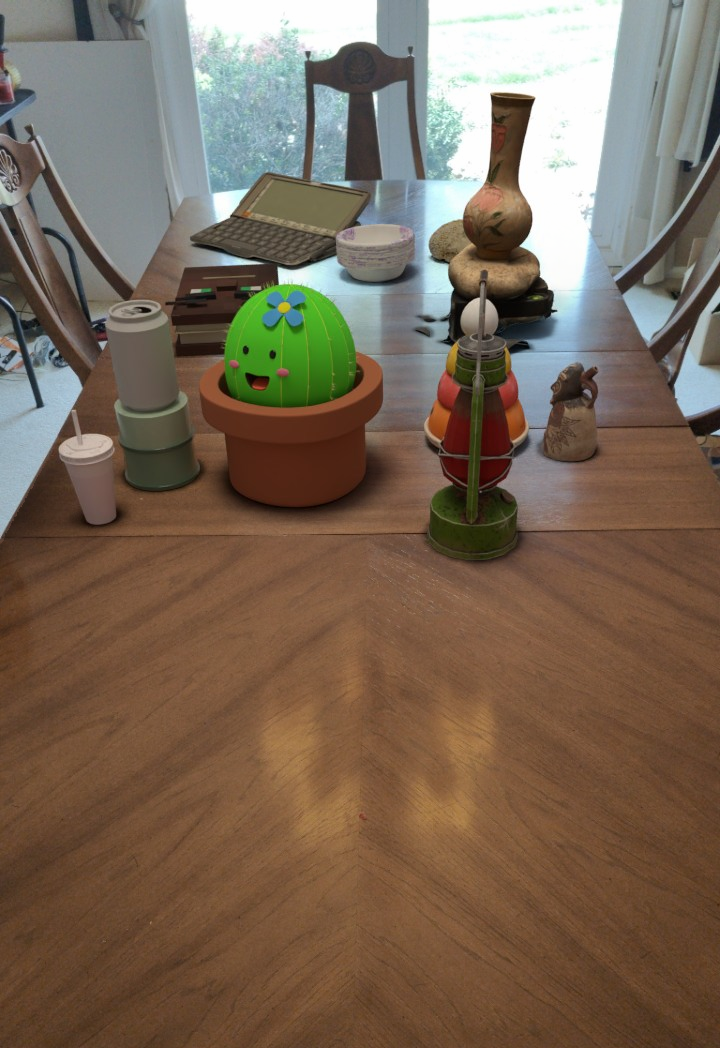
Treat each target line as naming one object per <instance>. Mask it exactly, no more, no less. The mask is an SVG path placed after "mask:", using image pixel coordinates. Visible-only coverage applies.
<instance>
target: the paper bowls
mask: <svg viewBox="0 0 720 1048" xmlns="http://www.w3.org/2000/svg"><path fill="white" fill-rule="evenodd" d="M415 243H416V234H415V231H414V230H413V229H412V228H410V227H408V226H404V225H399V224H389V223H372V224H364V225H361V226H357V227H352V228H349V229H346V230H344V231H341V232H340V233H339V234H337V236H336V250H337V251H336V252H337V253H336V261H337V263H338V264H339V266H342V267H344V268H346V270H347V272H348V274H349V275H350V276H351V277H352V278H354V279H355V280H358V281H362V282H370V283H378V282H387V281H391V280H395V279H397V278H399V277H400V276H401V275H402V274H403V273H404V270H405V268H406V265H409V264H410V263H412V262H413V261H414V260H415V258H416V257H415V255H416V245H415Z"/></svg>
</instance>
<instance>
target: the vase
mask: <svg viewBox="0 0 720 1048" xmlns="http://www.w3.org/2000/svg"><path fill="white" fill-rule="evenodd" d="M489 95H490V103H491V111H490V115H491V116H490V119H491V122H490V123H491V125H490V127H491V128H490V148H489V149H490V150H489V151H490V152H489V163H488V170H487V171H488V172H487V173H486V174H487V175H486V179H485V181H484V183H483V185H482V186H481V187H480V189H478V190H477V192H476V193H475V194H474V195H472V197H470V199H469V200H468V202H467V203H466V205H465V207H464V210H463V215H462V219H463V228H464V232H465V234H466V236H467V238H468V239H469V240H470V241H471V242H472V243H471V244H469V245H468V246H467V247H465V248H464V249H463V250H462V251H461V252H460V253H459V254H458V255H456V256H455V257H454V258H453V259H452V260H451V262H449V264H448V268H447V275H448V276H447V277H448V282H449V283H450V285H451V287H452V292H451V295H450V309H449V312H448V313H447V315H445V316H444V317H442V318H440V322H444V320H445V318H448V321H447V322H448V329H447V332H448V335H447V337H446V338H445V339H442V340H440V342H444V343H445V342H447V343H448V342H451V341H453V342H454V343H456V342H457V341H458V340H459V339H460V338H462V337H464V336H466V335H465V333H464V332H463V330H462V328H461V316H462V313H463V310H464V308H465V307H466V306H467V305H468V303H469V302H471V301H472V300H474V299H476V298H480V288H481V287H480V286H479V279H480V273H481V271H482V270H487V271H488V279H487V289H486V299H487V300H489V301H490V302H491V303H492V304H493V305H494V307H495V308H496V311H497V314H498V325H499V324H502V327H501V328H500V329H499V330H497V331H495V333H493V334H492V335H495V336H497V334H498V333H502V332H504V331H505V330H506V329H507V328H509V327H511V326H514V325H518V324H519V325H520V324H528V323H534V322H537V321H539V320H540V319H543V318H544V320H547V319H549V318H550V317H551V316H552V314H554V313H557V312H558V309H553V306H554V301H555V293H554V291H553V290H552V289H549V286H548V283H547V282H546V280H545V279H543V277H541V269H540V268H541V263H540V260H539V259H538V257H537V256H536V254H535V253H534V252H533V251H531V250H529V249H527V248H525V247H523V246H521V245H522V244H524V242H525V241H526V240H527V239H528V237H529V236H530V234H531V230H532V227H533V220H534V219H533V210H532V208H531V205H530V204H529V202H528V200H527V198H526V197H525V195H524V194H523V192H522V190H521V187H520V180H519V179H520V166H521V161H522V154H523V149H524V144H525V140H526V136H527V132H528V127H529V124H530V123H529V122H530V119H531V115H532V110H533V106H534V103H535V101H536V99H537V98H536V96H534V95H530V94H525V93H517V92H507V91H506V92H505V91H493V92H490V94H489ZM418 318H422V320H423V321H424V322H427V323H433V322H436V321H437V319H434V318H433V317H430V316H428V315H422V316H421V315H418ZM415 331H420V332H421V333H423V334H425V335H427V336H428V337H430V335H431V332H430V330H429V329H428V328H427V327H419V328H416V329H415ZM503 339H504V338H503ZM504 340H505V342H506V347H507V349H508V350H509V349H510V348H511V347H513V346H514V345H517V344H520V345H526V346H529V348H531V346H530V344H529V342H528V341H527V340H523V339H519V338H513V339H512V338H511V339H510V338H509V339H506V338H505V339H504Z"/></svg>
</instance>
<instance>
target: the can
mask: <svg viewBox="0 0 720 1048" xmlns="http://www.w3.org/2000/svg"><path fill="white" fill-rule="evenodd" d="M107 313H108V315H109V316H108V317H107V319H106V320H105V323H104V326H105V332H106V338H107V342H108V343H107V344H108V349H109V354H110V359H111V363H112V369H113V373H114V379H115V384H116V385H115V386H116V389H117V395H118V399H119V400H120V402H121V403H123V404H124V405H126V406H127V407H128V408H130V409H131V410H135V411H141V412H149V411H156V410H160V409H164V408H166V407H168V406H170V405H171V404H172V403H173V402H174V400H175V399H176V398H177V397H178V395H179V391H180V387H179V380H178V374H177V367H176V359H175V354H174V348H173V341H172V339H173V338H172V333H171V327H170V326H171V325H170V320H169V316H168V315H167V314H166V313H165V312H164V311H163V310H162V305H161V304H160V303H159V302H157V301H155V300H150V299H132V300H125V301H122V302H121V301H120V302H118V303H116V304H113V305H112V306H110V307H109V309H108V311H107Z"/></svg>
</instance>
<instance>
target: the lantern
mask: <svg viewBox="0 0 720 1048" xmlns="http://www.w3.org/2000/svg"><path fill="white" fill-rule="evenodd" d="M487 279H488V271H487V270H482V271H481V273H480V279H479V286H480V287H481V288H480V306H479V326H478V333H476V334H472V335H468V336H464V337H462V338H460V339H459V340H458V342H457V347H458V350H457V360H456V361H455V372H454V374H453V375H452V380H453V383H455V384H456V385H458V386H459V387H461V388H460V390H459V392H458V395H457V397H456V399H455V402H454V405H453V408H452V411H451V414H450V417H449V420H448V423H447V428H446V432H445V436H444V438H443V439H442V441H441V442H440V443H439V446H440V448H439V451H438V453H437V457H438V458H439V464H440V467H441V470H442V471H441V472H442V474H443V477H445V478H446V479H447V480H448V481H449V482H451V484H449V485H448V486H444V487H443V488H441V489H439V490H438V491H436V492H435V493H434V494H433V496H432V497H431V499H430V500H429V525H428V527H427V531H426V535H427V540H428V541H427V542H428V543H429V545H431V546H432V547H433V549H435V550H436V551H437V552H439V553H441V554H443V555H446V556H448V557H450V558H453V559H459V560H466V561H483V560H490V559H493V558H497V557H500V556H504V555H505V554H507V553H508V552H509V551H511V550H513V548H515V546H516V544H517V541H518V540H519V533H518V530H517V523H518V509H519V505H518V502H517V499H516V496H515V495H513V494H512V493H510V492H509V491H508V490H507V489H505V488H502V487H500V486H498V484H500V483H502V482H503V481H505V480H506V479H507V478H508V475H509V473H510V471H511V468H512V466H513V460H514V459H515V455H514V453H515V448H516V447H515V446H514V444H513V442H512V440H511V439H510V436H509V429H508V422H507V418H506V413H505V409H504V405H503V401H502V398H501V395H500V392H499V389H498V388H499V387H501V386H503V385H505V384H506V383H507V381H508V376H507V374H506V373H505V372H506V361H505V357H506V352H505V350H504V349H505V348H506V342H505V340H504V338H503V337H501V336H498V335H496V336H495V334H493V335H491V334H488V333H485V332H484V330H485V310H486V289H487ZM442 445H443V446H442Z"/></svg>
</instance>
